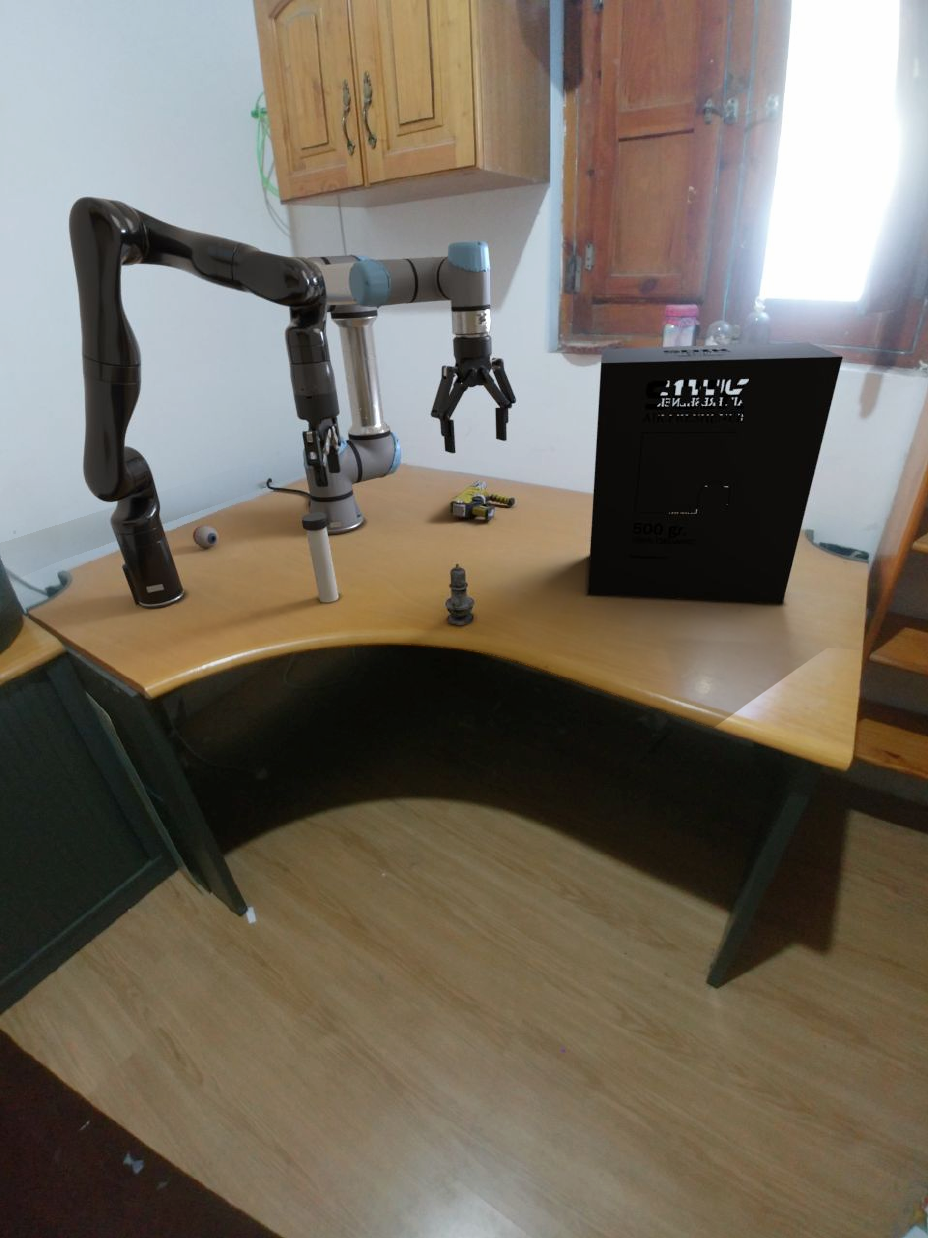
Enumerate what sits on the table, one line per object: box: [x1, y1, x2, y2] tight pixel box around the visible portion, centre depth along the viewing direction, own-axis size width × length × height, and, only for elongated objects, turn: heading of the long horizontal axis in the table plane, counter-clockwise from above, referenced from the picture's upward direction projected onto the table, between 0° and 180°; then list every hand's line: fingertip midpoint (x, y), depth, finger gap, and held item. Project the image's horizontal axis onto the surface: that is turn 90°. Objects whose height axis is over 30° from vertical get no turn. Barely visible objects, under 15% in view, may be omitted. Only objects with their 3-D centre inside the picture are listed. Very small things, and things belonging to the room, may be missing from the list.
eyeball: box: [192, 524, 219, 549], centre depth 158 cm, size 6×6×6 cm
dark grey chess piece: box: [444, 563, 475, 626], centre depth 117 cm, size 6×6×12 cm
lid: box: [301, 512, 328, 531], centre depth 122 cm, size 5×5×2 cm
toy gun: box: [449, 480, 516, 522], centre depth 174 cm, size 5×24×15 cm
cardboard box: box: [587, 342, 844, 605], centre depth 120 cm, size 38×20×45 cm, turn 78°
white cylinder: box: [305, 528, 340, 604], centre depth 126 cm, size 4×4×18 cm
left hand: (329, 479), depth 114 cm, fingers open, 8 cm apart
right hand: (476, 445), depth 127 cm, fingers open, 13 cm apart
